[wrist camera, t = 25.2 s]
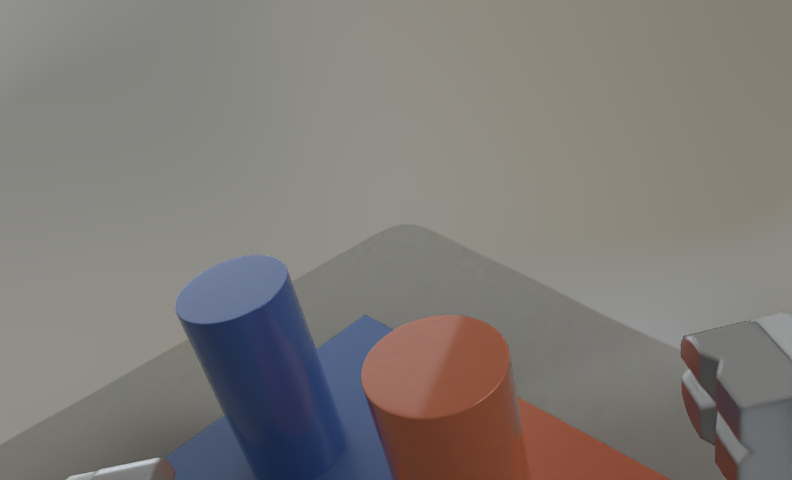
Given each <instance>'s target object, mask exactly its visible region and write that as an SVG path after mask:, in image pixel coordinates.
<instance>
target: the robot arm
mask: <svg viewBox="0 0 792 480" xmlns="http://www.w3.org/2000/svg"><path fill="white" fill-rule="evenodd" d="M681 357H682V359H683V360H684V362H685V363H686V365H687V366H688V370H687V371H686V373H685V374H684V375H683V377H682V378H681V382H682V395H683V399H684V403H685V407H686V410H687V413H688V416H689V418H690V420H691V422H692V424H693V426H694V428H695V430H696V431H697V433H698V435H699V436H700V438H701V439H703V440H705V441H707V442H709V443H711V444H713V445H714V446H715V462H716V464H717V465H718V467H719V468H720V470H721V472H722V473H723V475H724V476H725V478H726V479H727V480H792V316H791V315H790V314H788V313H785V312H780V313H776V314H772V315H767V316H763V317H759V318H755V319H751V320H749V321H744V322H740V323H736V324H732V325H727V326H724V327H720V328H715V329H711V330H707V331H702V332H699V333H694V334H690V335H686V336H683V339H682V342H681ZM175 474H176V471H175V470H174V468H173V467H172V465H171V464H170V462H169V461H168V459H167V458H161V457H159V458H154V459H149V460H144V461H139V462H134V463H129V464H124V465H119V466H115V467H110V468H105V469H100V470H99V471H94V472H89V473H84V474H79V475H74V476H70V477H69V478H67V479H66V480H174V479H175Z"/></svg>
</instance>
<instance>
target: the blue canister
mask: <svg viewBox="0 0 792 480" xmlns="http://www.w3.org/2000/svg"><path fill="white" fill-rule="evenodd" d="M175 311H176V314H177V316H178V318H179V320H180V322H181V325H182V327H183V329H184V331H185V333H186V335H187V337H188V339H189V341H190V343H191V346H192V348H193V350H194V352H195V354H196V356H197V358H198V360H199V362H200V364H201V366H202V369H203V371H204V373H205V375H206V377H207V379H208V381H209V383H210V385H211V387H212V390H213V392H214V394H215V396H216V398H217V400H218V402H219V404H220V406H221V408H222V410H223V413H224V415H225V417H226V419H227V421H228V423H229V425H230V427H231V429H232V431H233V434H234V436H235V438H236V440H237V442H238V444H239V446H240V448H241V450H242V452H243V454H244V457H245V459H246V461H247V463H248V465H249V467H250V469H251V471H252V473H253V475H254V476H255V477H256V478H257V479H258V480H313V479H315V478H317V477H318V476H320V475H321V474H323V473H324V472H325V471H327V470H328V469H329V468H330V467H331V466H332V465H333V464H334V462H335V461H336V460H337V458H338V457H339V455H340V454H341V452H342V449H343V447H344V443H345V429H344V426H343V423H342V420H341V417H340V415H339V412H338V409H337V406H336V403H335V401H334V398H333V395H332V392H331V390H330V387H329V384H328V381H327V378H326V376H325V373H324V370H323V367H322V364H321V362H320V359H319V356H318V353H317V351H316V348H315V345H314V342H313V339H312V337H311V334H310V331H309V328H308V325H307V323H306V320H305V317H304V314H303V312H302V309H301V306H300V303H299V300H298V298H297V295H296V292H295V289H294V286H293V284H292V281H291V278H290V275H289V273H288V270H287V267H286V265H285V264H284V263H283V262H282V261H281V260H279V259H277V258H275V257H272V256H267V255H249V256H243V257H238V258H234V259H231V260H227V261H224V262H222V263H219V264H217V265H215V266H213V267H211V268H209V269H207V270H205V271H204V272H202V273H200V274H199V275H197V276H196V277H195V278H193V279H192V280H191V281H190V282H189V283H188V284H187V285H186V286H185V287H184V288H183V289H182V290H181V292H180V293H179V295H178V297H177V299H176V302H175Z"/></svg>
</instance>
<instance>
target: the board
mask: <svg viewBox="0 0 792 480" xmlns="http://www.w3.org/2000/svg"><path fill="white" fill-rule="evenodd" d="M391 331H393V329H391V328H389V327H387V326H385V325H383V324H382V323H380V322H378V321H376V320H374V319H372V318H370V317H369V316H367V315H364V316H363V317H361V318H360V319H358V320H357V321H356V322H354V323H353V324H351V325H350V326H349V327H347V328H346V329H344V330H343V331H342V332H340V333H339V334H337V335H336V336H335V337H333V338H332V339H330V340H329V341H328V342H326V343H325V344H323V345H322V346H321V347H319V348H318V349H316V351H317V353H318V356H319V359H320V362H321V364H322V367H323V370H324V373H325V376H326V378H327V381H328V384H329V387H330V390H331V392H332V395H333V398H334V401H335V403H336V406H337V409H338V412H339V415H340V417H341V420H342V423H343V426H344V429H345V443H344V447H343V449H342V452H341V454H340V455H339V457H338V458H337V460H336V461H335V462H334V464H333V465H332V466H331V467H330V468H329V469H328V470H327V471H325V472H324V473H323V474H321V475H320V476H318V477H317V478H315V479H313V480H392V477H391V474H390V471H389V468H388V465H387V462H386V459H385V455H384V452H383V449H382V446H381V443H380V440H379V437H378V434H377V431H376V428H375V425H374V422H373V419H372V416H371V413H370V410H369V407H368V403H367V400H366V397H365V394H364V391H363V388H362V384H361V371H362V366H363V363H364V361H365V358H366V357H367V355H368V353H369V352H370V350H371V349H372V348H373V347H374V345H375V344H376V343H377V342H378V341H379V340H381V339H382V338H383V337H384V336H385V335H387V334H388V333H390V332H391ZM517 398H518V397H517ZM518 404H519V410H520V416H521V421H522V427H523V433H524V439H525V444H526V450H527V456H528V462H529V467H530V473H531V479H532V480H670V479H668V478H667V477H665V476H663V475H661V474H659V473H657V472H655V471H654V470H652V469H650V468H648V467H646V466H644V465H642V464H641V463H639V462H637V461H635V460H633V459H631V458H629V457H628V456H626V455H624V454H622V453H620V452H618V451H617V450H615V449H613V448H611V447H609V446H607V445H605V444H604V443H602V442H600V441H598V440H596V439H594V438H592V437H591V436H589V435H587V434H585V433H583V432H581V431H580V430H578V429H576V428H574V427H572V426H570V425H568V424H567V423H565V422H563V421H561V420H559V419H557V418H555V417H554V416H552V415H550V414H548V413H546V412H544V411H543V410H541V409H539V408H537V407H535V406H533V405H531V404H530V403H528V402H526V401H524V400H522V399H520V398H518ZM165 458H167V459H168V461H169V462H170V464H171V465H172V467H173V468H174V470H175V471H176V474H175V479H174V480H258V479H257V478H256V477H255V476H254V475H253V473H252V471H251V469H250V467H249V465H248V463H247V461H246V459H245V457H244V454H243V452H242V450H241V448H240V446H239V444H238V442H237V440H236V438H235V436H234V434H233V431H232V429H231V427H230V425H229V423H228V421H227V419H226V417H225V415H224V416H223V417H221V418H220V419H218V420H217V421H216V422H214V423H213V424H211V425H210V426H209V427H207V428H206V429H204V430H203V431H202V432H200V433H199V434H197V435H196V436H195V437H193V438H192V439H190V440H189V441H188V442H186V443H185V444H183V445H182V446H181V447H179V448H178V449H176V450H175V451H174V452H172V453H171V454H169V455H168V456H167V457H165Z"/></svg>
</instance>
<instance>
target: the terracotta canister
mask: <svg viewBox="0 0 792 480" xmlns="http://www.w3.org/2000/svg"><path fill="white" fill-rule="evenodd" d="M361 384H362V388H363V391H364V394H365V397H366V400H367V403H368V407H369V410H370V413H371V416H372V419H373V422H374V425H375V428H376V431H377V434H378V437H379V440H380V443H381V446H382V449H383V452H384V455H385V459H386V462H387V465H388V468H389V471H390V474H391V477H392V480H532V479H531V473H530V467H529V462H528V456H527V450H526V444H525V439H524V433H523V427H522V421H521V416H520V410H519V404H518V398H517V393H516V387H515V381H514V375H513V370H512V364H511V358H510V353H509V348H508V345H507V343H506V341H505V339H504V338H503V337H502V335H501V334H500V333H499V332H498V331H497V330H496V329H495V328H493V327H492V326H491V325H489V324H487V323H485V322H483V321H481V320H478V319H475V318H471V317H467V316H461V315H438V316H431V317H425V318H422V319H418V320H415V321H412V322H409V323H407V324H404V325H402V326H400V327H398V328H396V329H395V330H393V331H391V332H390V333H388V334H387V335H385V336H384V337H383V338H382V339H381V340H379V341H378V342H377V343H376V344H375V345H374V347H373V348H372V349H371V350H370V352H369V353H368V355H367V357H366V358H365V361H364V363H363V366H362V371H361Z"/></svg>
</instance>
